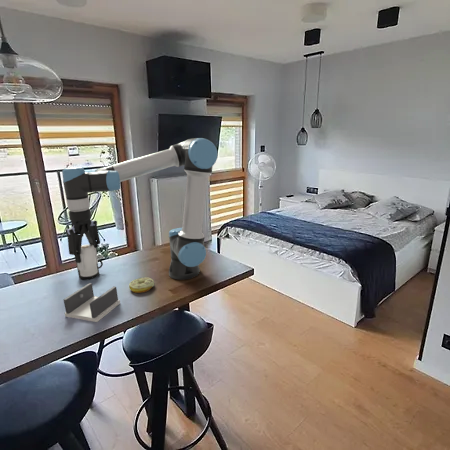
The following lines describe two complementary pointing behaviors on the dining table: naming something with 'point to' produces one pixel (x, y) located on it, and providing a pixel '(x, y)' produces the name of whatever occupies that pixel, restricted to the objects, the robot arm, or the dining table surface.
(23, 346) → the dining table surface
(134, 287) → the decorated donut
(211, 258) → the dining table surface
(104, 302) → the cradle
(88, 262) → the roll
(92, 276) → the mug
